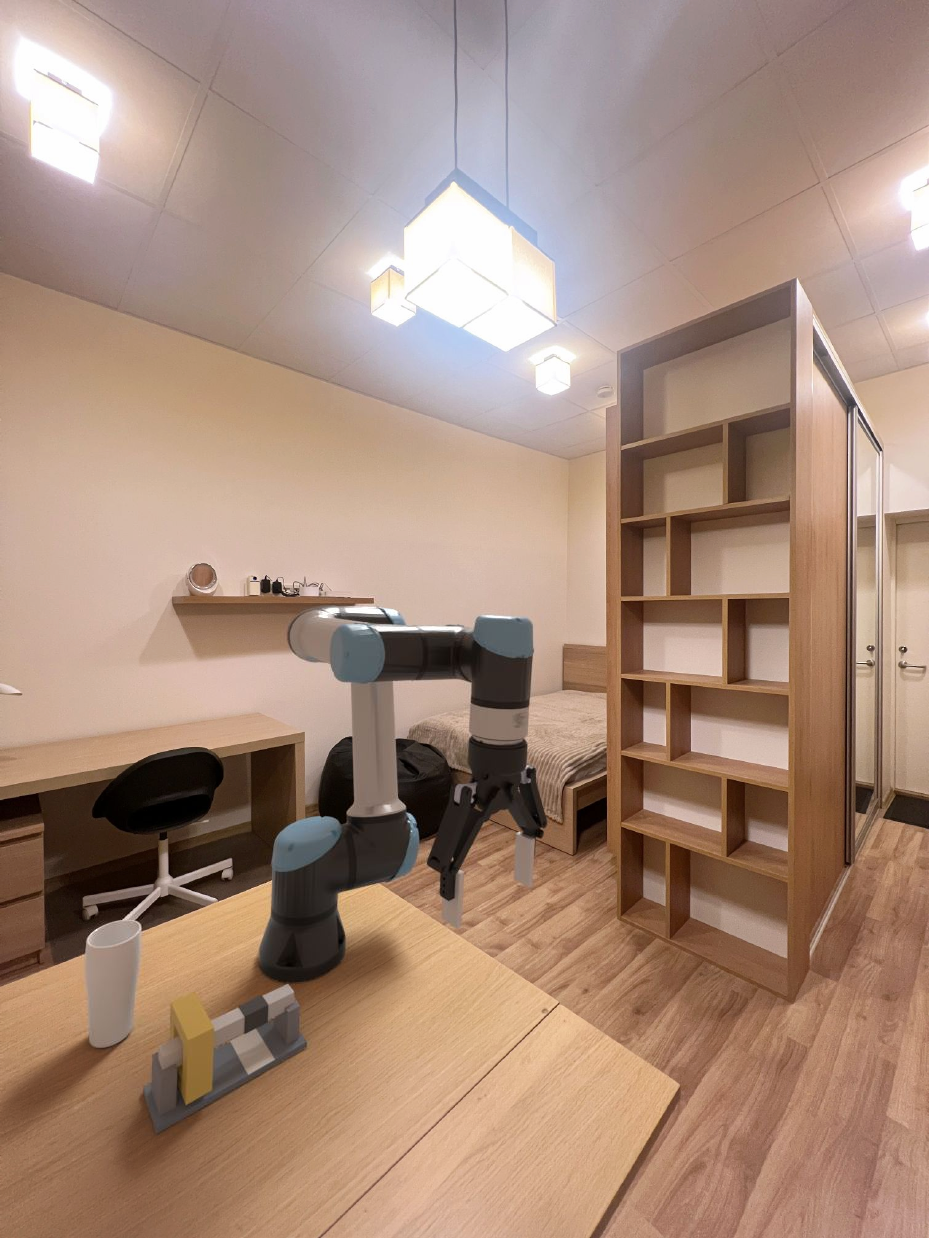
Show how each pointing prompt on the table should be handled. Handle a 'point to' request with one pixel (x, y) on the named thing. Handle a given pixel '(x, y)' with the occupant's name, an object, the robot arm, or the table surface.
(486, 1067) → the table surface
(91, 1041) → the white cup
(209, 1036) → the collar
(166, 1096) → the rail
